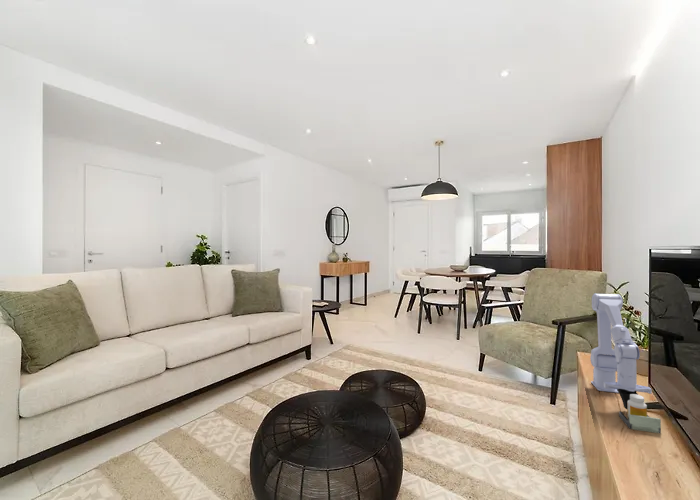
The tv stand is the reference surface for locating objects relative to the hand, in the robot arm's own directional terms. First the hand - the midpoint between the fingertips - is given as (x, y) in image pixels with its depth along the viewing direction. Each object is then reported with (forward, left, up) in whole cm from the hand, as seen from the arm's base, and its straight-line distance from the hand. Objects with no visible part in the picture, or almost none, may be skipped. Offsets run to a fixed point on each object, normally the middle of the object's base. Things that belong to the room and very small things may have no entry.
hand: (627, 408), depth 125 cm
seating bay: (+8, 0, -1) cm, 8 cm away
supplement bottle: (+8, 0, -2) cm, 8 cm away
